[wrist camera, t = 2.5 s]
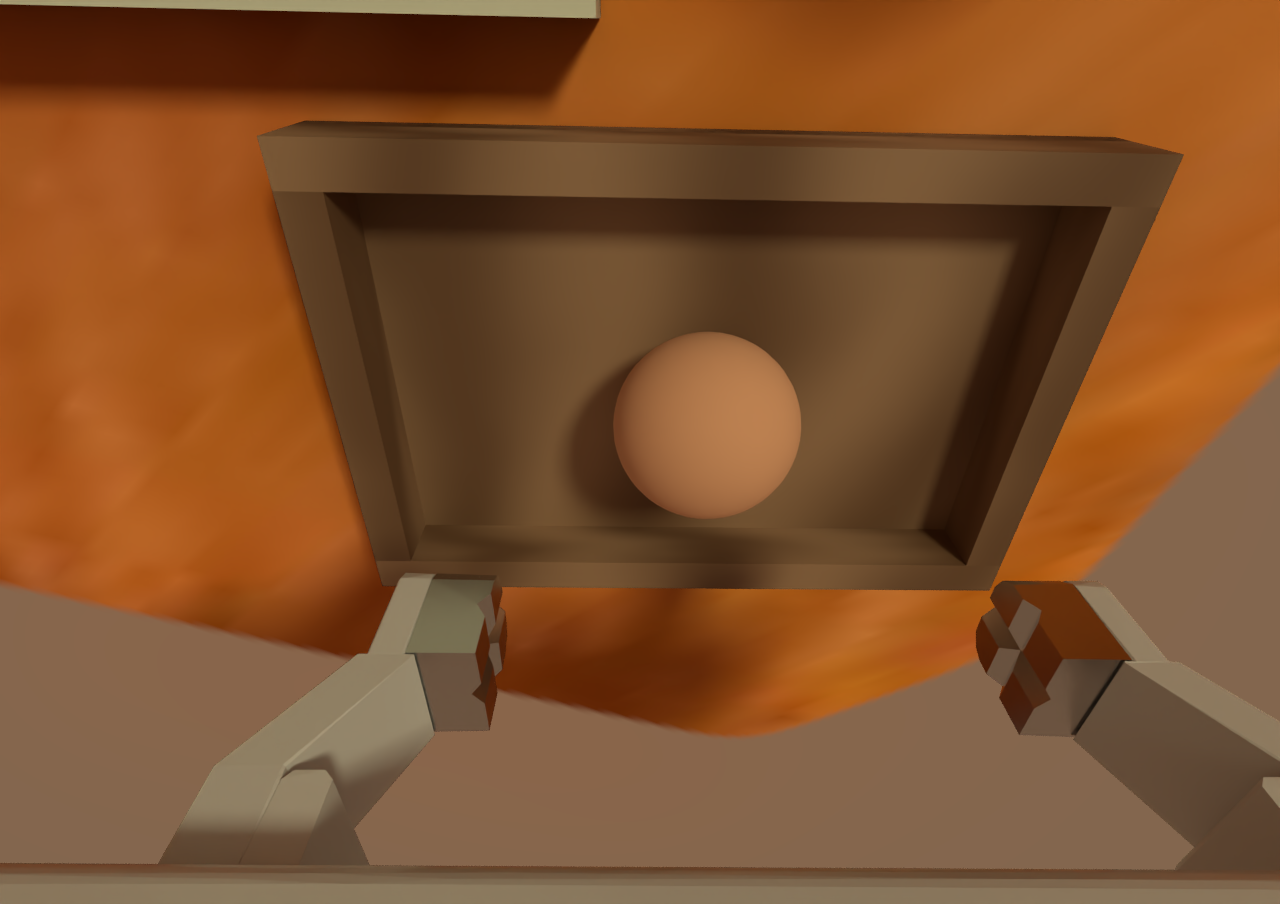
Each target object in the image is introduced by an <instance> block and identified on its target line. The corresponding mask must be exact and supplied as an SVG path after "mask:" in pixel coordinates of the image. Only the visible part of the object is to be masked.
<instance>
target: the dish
mask: <svg viewBox="0 0 1280 904" xmlns="http://www.w3.org/2000/svg"><path fill="white" fill-rule="evenodd" d="M257 138H258V142H259V145H260V149H261V152H262V156H263V160H264V163H265V167H266V170H267V174H268V177H269V181H270V185H271V188H272V192H273V195H274V199H275V203H276V206H277V210H278V213H279V217H280V220H281V224H282V228H283V231H284V235H285V238H286V242H287V246H288V249H289V253H290V256H291V260H292V263H293V267H294V271H295V274H296V278H297V281H298V285H299V289H300V292H301V296H302V299H303V303H304V306H305V310H306V314H307V317H308V321H309V324H310V328H311V332H312V335H313V339H314V342H315V346H316V349H317V353H318V357H319V360H320V364H321V367H322V371H323V375H324V378H325V382H326V385H327V389H328V392H329V396H330V400H331V403H332V407H333V410H334V414H335V418H336V421H337V425H338V428H339V432H340V435H341V439H342V443H343V446H344V450H345V453H346V457H347V461H348V464H349V468H350V471H351V475H352V478H353V482H354V486H355V489H356V493H357V496H358V500H359V503H360V507H361V511H362V514H363V518H364V521H365V525H366V529H367V532H368V536H369V539H370V543H371V546H372V550H373V554H374V557H375V561H376V564H377V568H378V572H379V575H380V579H381V582H382V586H396V585H397V583H398V581H399V579H400V578H401V577H402V576H403V575H404V574H405V573H424V574H437V573H442V574H470V575H497V576H499V577H500V580H501V586H502V587H580V588H717V589H854V590H990V588H991V586H992V584H993V581H994V579H995V577H996V575H997V572H998V570H999V568H1000V566H1001V563H1002V561H1003V559H1004V557H1005V554H1006V552H1007V550H1008V548H1009V545H1010V543H1011V541H1012V539H1013V536H1014V534H1015V532H1016V530H1017V528H1018V525H1019V523H1020V521H1021V519H1022V516H1023V514H1024V512H1025V510H1026V507H1027V505H1028V503H1029V501H1030V498H1031V496H1032V494H1033V492H1034V489H1035V487H1036V485H1037V483H1038V480H1039V478H1040V476H1041V474H1042V471H1043V469H1044V467H1045V465H1046V462H1047V460H1048V458H1049V456H1050V454H1051V451H1052V449H1053V447H1054V445H1055V442H1056V440H1057V438H1058V436H1059V433H1060V431H1061V429H1062V427H1063V424H1064V422H1065V420H1066V418H1067V415H1068V413H1069V411H1070V409H1071V406H1072V404H1073V402H1074V400H1075V397H1076V395H1077V393H1078V391H1079V388H1080V386H1081V384H1082V382H1083V380H1084V377H1085V375H1086V373H1087V371H1088V368H1089V366H1090V364H1091V362H1092V359H1093V357H1094V355H1095V353H1096V350H1097V348H1098V346H1099V344H1100V341H1101V339H1102V337H1103V335H1104V332H1105V330H1106V328H1107V326H1108V323H1109V321H1110V319H1111V317H1112V315H1113V312H1114V310H1115V308H1116V306H1117V303H1118V301H1119V299H1120V297H1121V294H1122V292H1123V290H1124V288H1125V285H1126V283H1127V281H1128V279H1129V276H1130V274H1131V272H1132V270H1133V267H1134V265H1135V263H1136V261H1137V258H1138V256H1139V254H1140V252H1141V249H1142V247H1143V245H1144V243H1145V241H1146V238H1147V236H1148V234H1149V232H1150V229H1151V227H1152V225H1153V223H1154V220H1155V218H1156V216H1157V214H1158V211H1159V209H1160V207H1161V205H1162V202H1163V200H1164V198H1165V196H1166V193H1167V191H1168V189H1169V187H1170V184H1171V182H1172V180H1173V178H1174V175H1175V173H1176V171H1177V169H1178V167H1179V164H1180V162H1181V160H1182V158H1183V155H1184V154H1180V153H1176V152H1172V151H1168V150H1164V149H1160V148H1156V147H1152V146H1148V145H1144V144H1140V143H1136V142H1132V141H1128V140H1124V139H1120V138H1116V137H1075V136H1026V135H978V134H929V133H880V132H831V131H783V130H734V129H685V128H636V127H588V126H539V125H490V124H441V123H392V122H344V121H303V122H299V123H296V124H293V125H290V126H287V127H284V128H280V129H277V130H274V131H271V132H268V133H265V134H262V135H258V136H257ZM696 332H720V333H725V334H730V335H734V336H737V337H740V338H742V339H745V340H747V341H749V342H751V343H753V344H755V345H757V346H758V347H760V348H761V349H763V350H764V351H765V352H767V353H768V354H769V355H770V356H771V357H772V358H773V359H774V360H775V361H776V362H777V363H778V364H779V365H780V366H781V368H782V369H783V370H784V372H785V373H786V375H787V377H788V378H789V380H790V382H791V384H792V385H793V388H794V390H795V393H796V396H797V399H798V402H799V407H800V412H801V437H800V443H799V447H798V451H797V455H796V458H795V460H794V462H793V465H792V467H791V468H790V470H789V472H788V474H787V475H786V477H785V479H784V480H783V481H782V483H781V484H780V485H779V486H778V487H777V488H776V489H775V490H774V491H773V492H772V493H771V494H770V495H769V496H768V497H767V498H766V499H764V500H763V501H762V502H760V503H759V504H757V505H756V506H754V507H752V508H750V509H748V510H746V511H744V512H741V513H739V514H736V515H732V516H728V517H724V518H717V519H696V518H690V517H685V516H681V515H678V514H675V513H673V512H670V511H668V510H666V509H664V508H662V507H660V506H658V505H656V504H655V503H654V502H652V501H651V500H649V499H648V498H647V497H646V496H645V495H644V494H643V493H642V492H641V491H640V490H638V489H637V487H636V486H635V485H634V484H633V482H632V481H631V480H630V478H629V477H628V475H627V473H626V472H625V470H624V468H623V466H622V464H621V462H620V459H619V456H618V453H617V450H616V446H615V442H614V429H613V420H614V411H615V406H616V402H617V398H618V395H619V392H620V390H621V387H622V385H623V383H624V382H625V380H626V378H627V376H628V374H629V373H630V372H631V370H632V369H633V368H634V366H635V365H636V364H637V363H638V362H639V361H640V360H641V359H642V358H643V357H644V356H645V355H646V354H647V353H649V352H650V351H651V350H653V349H654V348H655V347H657V346H659V345H660V344H662V343H664V342H666V341H668V340H670V339H673V338H675V337H678V336H682V335H685V334H690V333H696Z"/></svg>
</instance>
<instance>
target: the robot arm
mask: <svg viewBox="0 0 1280 904" xmlns="http://www.w3.org/2000/svg"><path fill="white" fill-rule="evenodd" d="M502 593H503V592H502V586H501V580H500V577H499V576H497V575H470V574H442V573H437V574H424V573H405V574H404V575H403V576H402V577H401V578H400V579H399V581H398V583H397V585H396V588H395V590H394V592H393V595H392V597H391V599H390V602H389V604H388V606H387V609H386V611H385V613H384V616H383V618H382V620H381V623H380V625H379V627H378V630H377V632H376V634H375V637H374V639H373V641H372V644H371V646H370V648H369V651H368V653H367V654H357V655H355V656H354V657H353V658H352V659H350V660H349V661H348V662H346V663H345V664H344V665H343V666H341V667H340V668H339V669H337V670H336V671H335V672H334V673H332V674H331V675H330V676H328V677H327V678H326V679H325V680H323V681H322V682H321V683H320V684H318V685H317V686H316V687H314V688H313V689H312V690H311V691H309V692H308V693H307V694H305V695H304V696H303V697H302V698H300V699H299V700H298V701H296V702H295V703H294V704H293V705H291V706H290V707H289V708H287V709H286V710H285V711H284V712H282V713H281V714H280V715H279V716H277V717H276V718H275V719H273V720H272V721H271V722H270V723H268V724H267V725H266V726H264V727H263V728H262V729H261V730H259V731H258V732H257V733H255V734H254V735H253V736H252V737H250V738H249V739H248V740H246V741H245V742H244V743H243V744H241V745H240V746H239V747H238V748H236V749H235V750H234V751H233V752H231V753H230V754H229V755H227V756H226V757H225V758H223V759H222V760H221V761H220V762H218V763H217V764H216V765H214V767H213V768H212V770H211V772H210V774H209V775H208V777H207V779H206V781H205V782H204V784H203V786H202V788H201V790H200V791H199V793H198V795H197V796H196V798H195V800H194V802H193V803H192V805H191V807H190V809H189V810H188V812H187V814H186V816H185V817H184V819H183V821H182V823H181V825H180V826H179V828H178V830H177V831H176V833H175V835H174V837H173V838H172V840H171V842H170V844H169V845H168V847H167V849H166V851H165V852H164V854H163V856H162V858H161V859H160V861H159V863H158V864H65V863H63V864H61V863H57V864H56V863H49V864H48V863H0V904H1280V722H1279V721H1278V720H1276V719H1274V718H1273V717H1271V716H1269V715H1268V714H1266V713H1264V712H1262V711H1261V710H1259V709H1257V708H1256V707H1254V706H1252V705H1251V704H1249V703H1247V702H1245V701H1244V700H1242V699H1241V698H1239V697H1237V696H1235V695H1234V694H1232V693H1230V692H1229V691H1227V690H1225V689H1224V688H1222V687H1220V686H1219V685H1217V684H1215V683H1213V682H1212V681H1210V680H1208V679H1207V678H1205V677H1203V676H1202V675H1200V674H1198V673H1196V672H1195V671H1193V670H1192V669H1190V668H1188V667H1186V666H1185V665H1183V664H1181V663H1180V662H1169V661H1168V660H1167V659H1166V658H1165V657H1164V655H1163V654H1162V653H1161V652H1160V650H1159V649H1158V648H1157V647H1156V646H1155V644H1154V643H1153V642H1152V641H1151V640H1150V639H1149V638H1148V636H1147V635H1146V634H1145V633H1144V631H1143V630H1142V629H1141V628H1140V626H1139V625H1138V624H1137V623H1136V622H1135V620H1133V618H1132V617H1131V616H1130V615H1129V613H1128V612H1127V611H1126V610H1125V608H1124V607H1123V606H1122V605H1121V604H1120V602H1119V601H1118V600H1117V599H1116V598H1115V597H1114V595H1113V594H1112V593H1111V592H1110V591H1109V589H1108V588H1107V587H1106V586H1104V585H1103V584H1101V583H1099V582H1097V581H1064V582H1061V581H1002V582H1001V583H999V584H998V585H997V586H996V587H995V588H994V590H993V593H992V595H991V597H990V599H991V601H992V602H993V604H994V606H995V608H993V609H992V610H990V611H989V612H988V613H986V614H985V615H983V616H982V617H981V619H980V622H979V625H978V627H977V630H976V649H977V653H978V656H979V660H980V662H981V664H982V666H983V668H984V670H985V672H986V674H987V675H989V676H990V677H991V678H993V679H994V680H995V681H997V682H998V683H999V684H1001V685H1002V690H1001V693H1000V697H999V698H1000V700H1001V702H1002V704H1003V705H1004V707H1005V709H1006V711H1007V713H1008V715H1009V717H1010V718H1011V720H1012V722H1013V724H1014V726H1015V728H1016V730H1017V732H1018V733H1019V735H1036V736H1065V737H1074V739H1073V740H1074V741H1075V742H1077V743H1078V744H1079V745H1080V746H1081V747H1082V748H1083V749H1085V751H1087V752H1088V753H1089V754H1090V755H1091V756H1092V757H1093V758H1095V759H1096V760H1097V761H1098V762H1099V763H1100V764H1101V765H1103V766H1104V767H1105V768H1106V769H1107V770H1108V771H1109V772H1110V773H1111V774H1113V775H1114V776H1115V777H1116V778H1117V779H1118V780H1119V781H1120V782H1122V783H1123V784H1124V785H1125V786H1126V787H1127V788H1128V789H1129V790H1131V791H1132V792H1133V793H1134V794H1135V795H1136V796H1137V797H1138V798H1140V799H1141V800H1142V801H1143V802H1144V803H1145V804H1146V805H1148V806H1149V807H1150V808H1151V809H1152V810H1153V811H1154V812H1155V813H1157V814H1158V815H1159V816H1160V817H1161V818H1162V819H1163V820H1164V821H1165V822H1167V823H1168V824H1169V825H1170V826H1171V827H1172V828H1173V829H1175V830H1176V831H1177V832H1178V833H1179V834H1181V836H1182V837H1184V838H1185V839H1186V840H1187V841H1188V842H1189V843H1190V844H1191V845H1193V846H1194V848H1193V849H1192V850H1191V851H1190V852H1189V853H1188V854H1187V855H1186V856H1185V857H1184V858H1183V859H1182V860H1181V861H1180V862H1179V863H1178V865H1177V866H1176V868H1175V870H1118V869H1112V870H1111V869H1103V870H1102V869H950V868H947V869H946V868H945V869H944V868H943V869H942V868H755V867H754V868H752V867H751V868H748V867H742V868H741V867H561V866H560V867H559V866H558V867H557V866H554V867H553V866H374V865H373V866H370V865H369V863H368V860H367V858H366V856H365V853H364V851H363V849H362V846H361V844H360V842H359V840H358V837H357V835H356V832H355V830H354V828H355V827H356V826H357V824H358V823H359V822H360V821H361V820H362V819H363V817H364V816H365V815H366V814H367V813H368V812H369V810H370V809H371V808H372V807H373V806H374V805H375V804H376V802H377V801H378V800H379V799H380V798H381V797H382V795H383V794H384V793H385V792H386V791H387V790H388V788H389V787H390V786H391V785H392V784H393V783H394V781H395V780H396V779H397V778H398V777H399V776H400V774H401V773H402V772H403V771H404V770H405V769H406V768H407V766H408V765H409V764H410V763H411V762H412V761H413V760H414V758H415V757H416V756H417V755H418V753H420V751H421V750H422V749H423V748H424V747H425V746H426V744H427V743H428V742H429V741H430V740H431V738H432V737H433V736H434V735H435V733H434V731H479V730H480V731H483V730H490V725H491V720H492V716H493V711H494V706H495V702H496V697H497V687H496V681H495V676H496V675H497V674H498V673H499V672H500V671H501V670H502V668H503V663H504V658H505V651H506V640H507V622H506V613H505V611H504V610H503V609H502V608H501V607H500V602H501V597H502Z"/></svg>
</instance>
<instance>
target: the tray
mask: <svg viewBox="0 0 1280 904" xmlns="http://www.w3.org/2000/svg"><path fill="white" fill-rule="evenodd" d="M0 4H14V5H57V6H99V7H141V8H184V9H226V10H268V11H311V12H353V13H395V14H438V15H480V16H522V17H565V18H601V11H600V0H0Z"/></svg>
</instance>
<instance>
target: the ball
mask: <svg viewBox="0 0 1280 904" xmlns="http://www.w3.org/2000/svg"><path fill="white" fill-rule="evenodd" d="M613 429H614V442H615V446H616V450H617V453H618V456H619V459H620V462H621V464H622V466H623V468H624V470H625V472H626V473H627V475H628V477H629V478H630V480H631V481H632V482H633V484H634V485H635V486H636V487H637V489H638V490H640V491H641V492H642V493H643V494H644V495H645V496H646V497H647V498H648V499H649V500H651V501H652V502H654V503H655V504H656V505H658V506H660V507H662V508H664V509H666V510H668V511H670V512H673V513H675V514H678V515H681V516H685V517H690V518H696V519H717V518H724V517H728V516H732V515H736V514H739V513H741V512H744V511H746V510H748V509H750V508H752V507H754V506H756V505H757V504H759V503H760V502H762V501H763V500H764V499H766V498H767V497H768V496H769V495H770V494H771V493H772V492H773V491H774V490H775V489H776V488H777V487H778V486H779V485H780V484H781V483H782V481H783V480H784V479H785V477H786V475H787V474H788V472H789V470H790V468H791V467H792V465H793V462H794V460H795V458H796V455H797V451H798V447H799V443H800V437H801V412H800V407H799V402H798V399H797V396H796V393H795V390H794V388H793V385H792V384H791V382H790V380H789V378H788V377H787V375H786V373H785V372H784V370H783V369H782V368H781V366H780V365H779V364H778V363H777V362H776V361H775V360H774V359H773V358H772V357H771V356H770V355H769V354H768V353H767V352H765V351H764V350H763V349H761V348H760V347H758V346H757V345H755V344H753V343H751V342H749V341H747V340H745V339H742V338H740V337H737V336H734V335H730V334H725V333H720V332H696V333H690V334H685V335H682V336H678V337H675V338H673V339H670V340H668V341H666V342H664V343H662V344H660V345H659V346H657V347H655V348H654V349H653V350H651V351H650V352H649V353H647V354H646V355H645V356H644V357H643V358H642V359H641V360H640V361H639V362H638V363H637V364H636V365H635V366H634V368H633V369H632V370H631V372H630V373H629V374H628V376H627V378H626V380H625V382H624V383H623V385H622V387H621V390H620V392H619V395H618V398H617V402H616V406H615V411H614V420H613Z"/></svg>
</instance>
